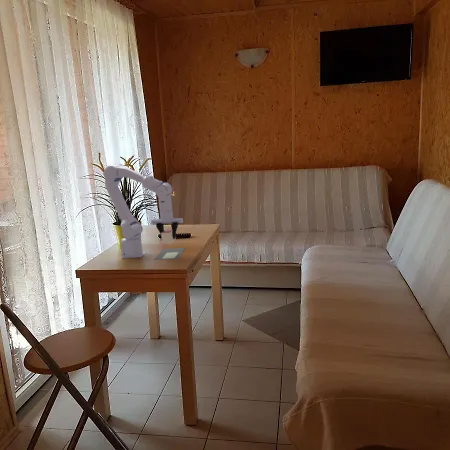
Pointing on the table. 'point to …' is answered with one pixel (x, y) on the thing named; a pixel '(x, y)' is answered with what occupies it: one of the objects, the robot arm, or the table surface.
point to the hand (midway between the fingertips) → (168, 238)
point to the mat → (169, 254)
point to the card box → (167, 236)
